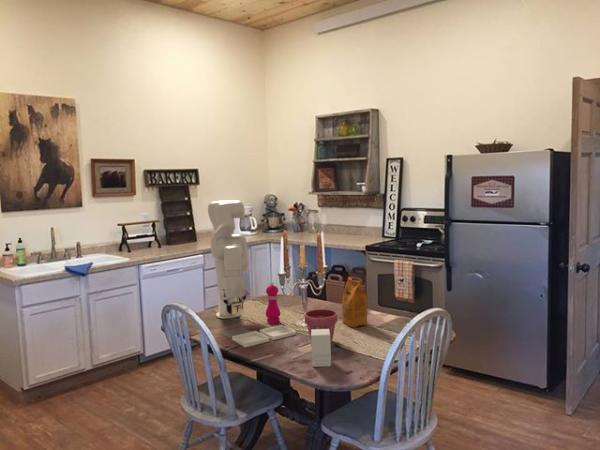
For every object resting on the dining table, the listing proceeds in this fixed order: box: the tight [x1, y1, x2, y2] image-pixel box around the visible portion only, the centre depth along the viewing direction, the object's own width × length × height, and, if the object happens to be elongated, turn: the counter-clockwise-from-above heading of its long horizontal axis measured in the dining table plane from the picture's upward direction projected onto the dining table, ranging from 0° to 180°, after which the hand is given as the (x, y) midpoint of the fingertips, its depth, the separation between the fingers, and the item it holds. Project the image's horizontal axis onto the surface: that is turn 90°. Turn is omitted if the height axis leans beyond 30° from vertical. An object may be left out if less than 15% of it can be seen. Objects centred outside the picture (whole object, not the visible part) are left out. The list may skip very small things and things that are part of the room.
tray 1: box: [231, 330, 270, 348], centre depth 227 cm, size 12×12×2 cm
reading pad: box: [219, 326, 253, 339], centre depth 238 cm, size 10×12×1 cm
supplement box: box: [310, 329, 332, 368], centre depth 199 cm, size 7×7×13 cm
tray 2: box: [259, 324, 297, 341], centre depth 234 cm, size 12×12×2 cm
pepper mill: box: [265, 282, 281, 325], centre depth 252 cm, size 7×7×20 cm
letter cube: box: [229, 300, 244, 315], centre depth 236 cm, size 5×5×5 cm
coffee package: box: [341, 276, 368, 328], centre depth 245 cm, size 10×12×22 cm
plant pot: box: [304, 308, 338, 344], centre depth 223 cm, size 14×14×13 cm
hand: (235, 311), depth 237 cm, fingers closed on letter cube, 4 cm apart
